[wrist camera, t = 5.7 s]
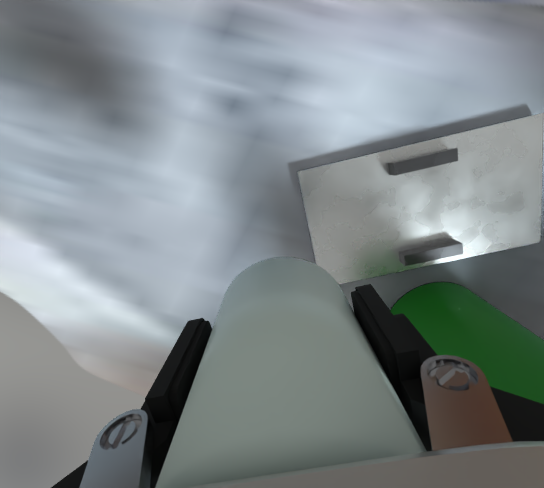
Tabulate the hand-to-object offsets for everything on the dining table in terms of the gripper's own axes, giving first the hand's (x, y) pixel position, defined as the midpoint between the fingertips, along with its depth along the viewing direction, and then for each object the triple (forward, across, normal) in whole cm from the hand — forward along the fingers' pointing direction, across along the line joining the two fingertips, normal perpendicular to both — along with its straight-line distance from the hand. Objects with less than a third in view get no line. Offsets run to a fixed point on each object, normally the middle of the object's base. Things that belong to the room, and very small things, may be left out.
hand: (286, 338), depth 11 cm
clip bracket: (+17, -12, 0) cm, 21 cm away
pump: (+2, 0, 0) cm, 2 cm away
